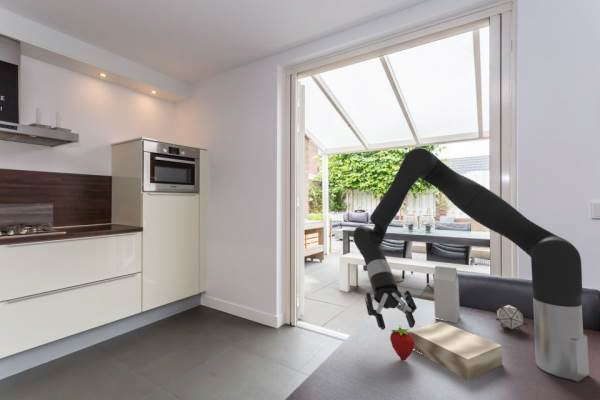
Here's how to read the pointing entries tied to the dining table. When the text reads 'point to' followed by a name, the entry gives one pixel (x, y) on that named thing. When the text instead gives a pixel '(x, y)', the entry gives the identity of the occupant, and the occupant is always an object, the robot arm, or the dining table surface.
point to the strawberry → (402, 343)
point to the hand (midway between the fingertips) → (398, 327)
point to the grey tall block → (446, 294)
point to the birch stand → (457, 349)
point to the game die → (510, 316)
